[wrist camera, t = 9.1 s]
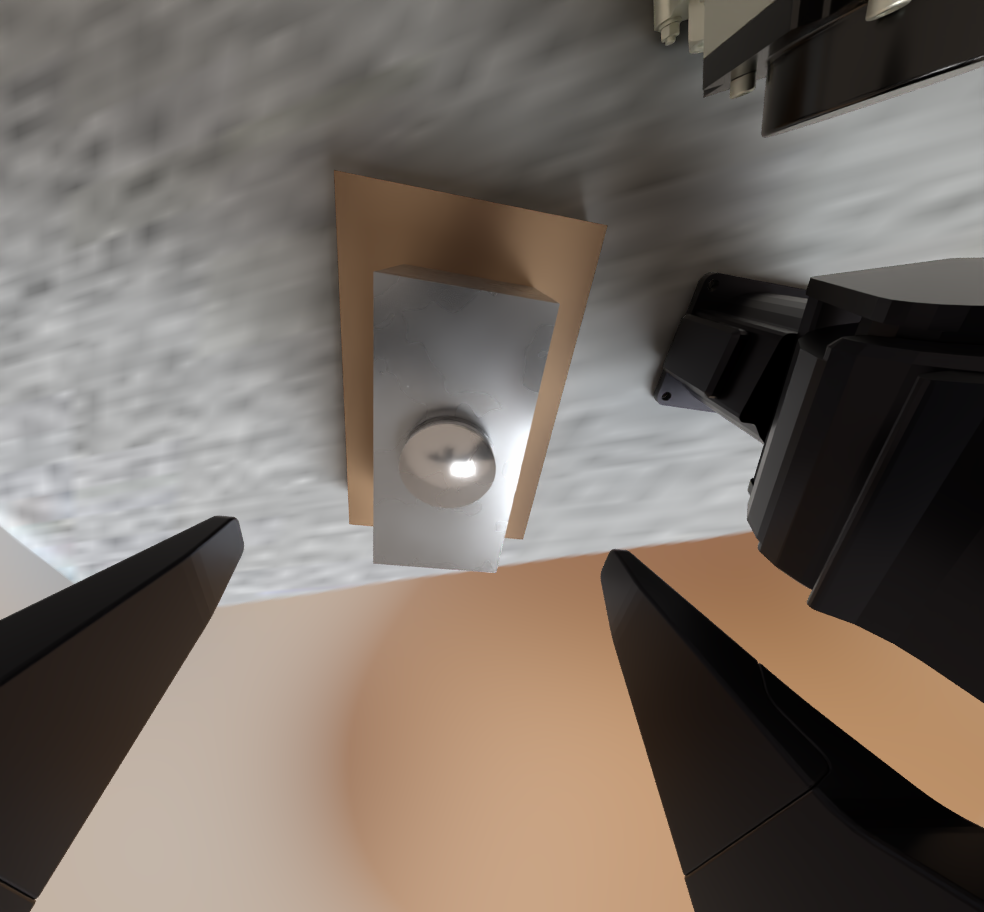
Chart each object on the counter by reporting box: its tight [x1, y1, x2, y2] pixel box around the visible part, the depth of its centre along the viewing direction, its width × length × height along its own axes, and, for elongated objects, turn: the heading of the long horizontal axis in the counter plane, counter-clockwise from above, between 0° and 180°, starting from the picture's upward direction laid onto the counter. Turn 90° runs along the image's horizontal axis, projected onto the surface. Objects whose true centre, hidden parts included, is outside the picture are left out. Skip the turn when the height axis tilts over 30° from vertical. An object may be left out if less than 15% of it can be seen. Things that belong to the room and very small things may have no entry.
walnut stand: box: [334, 170, 608, 539], centre depth 18 cm, size 10×16×2 cm, turn 171°
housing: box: [373, 264, 560, 573], centre depth 15 cm, size 11×5×6 cm, turn 171°
